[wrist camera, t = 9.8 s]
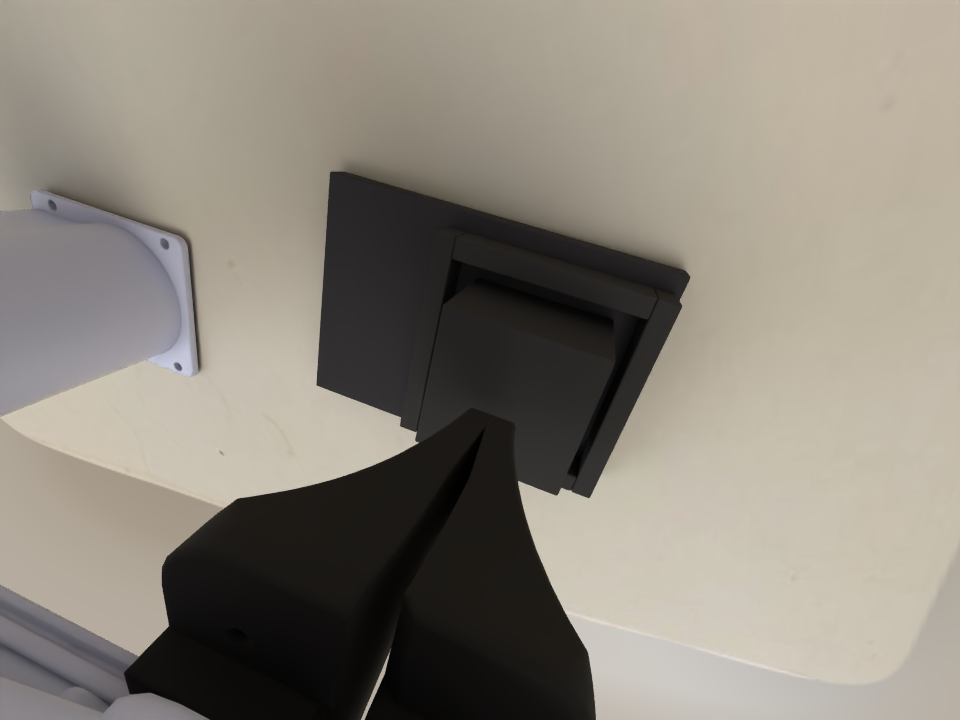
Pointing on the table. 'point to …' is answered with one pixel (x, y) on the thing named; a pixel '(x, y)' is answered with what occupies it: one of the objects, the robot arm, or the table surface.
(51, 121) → the table surface
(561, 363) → the black square block
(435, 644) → the robot arm
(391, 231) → the base pad
